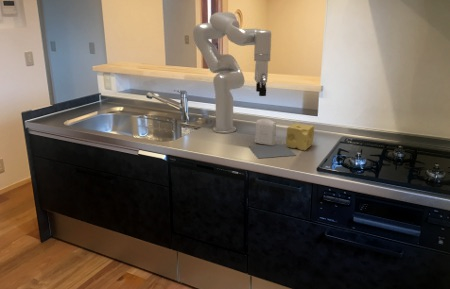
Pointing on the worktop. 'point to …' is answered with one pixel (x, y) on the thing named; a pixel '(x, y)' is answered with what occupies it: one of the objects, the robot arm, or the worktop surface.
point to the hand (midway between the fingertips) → (260, 93)
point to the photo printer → (265, 132)
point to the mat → (271, 151)
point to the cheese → (299, 136)
